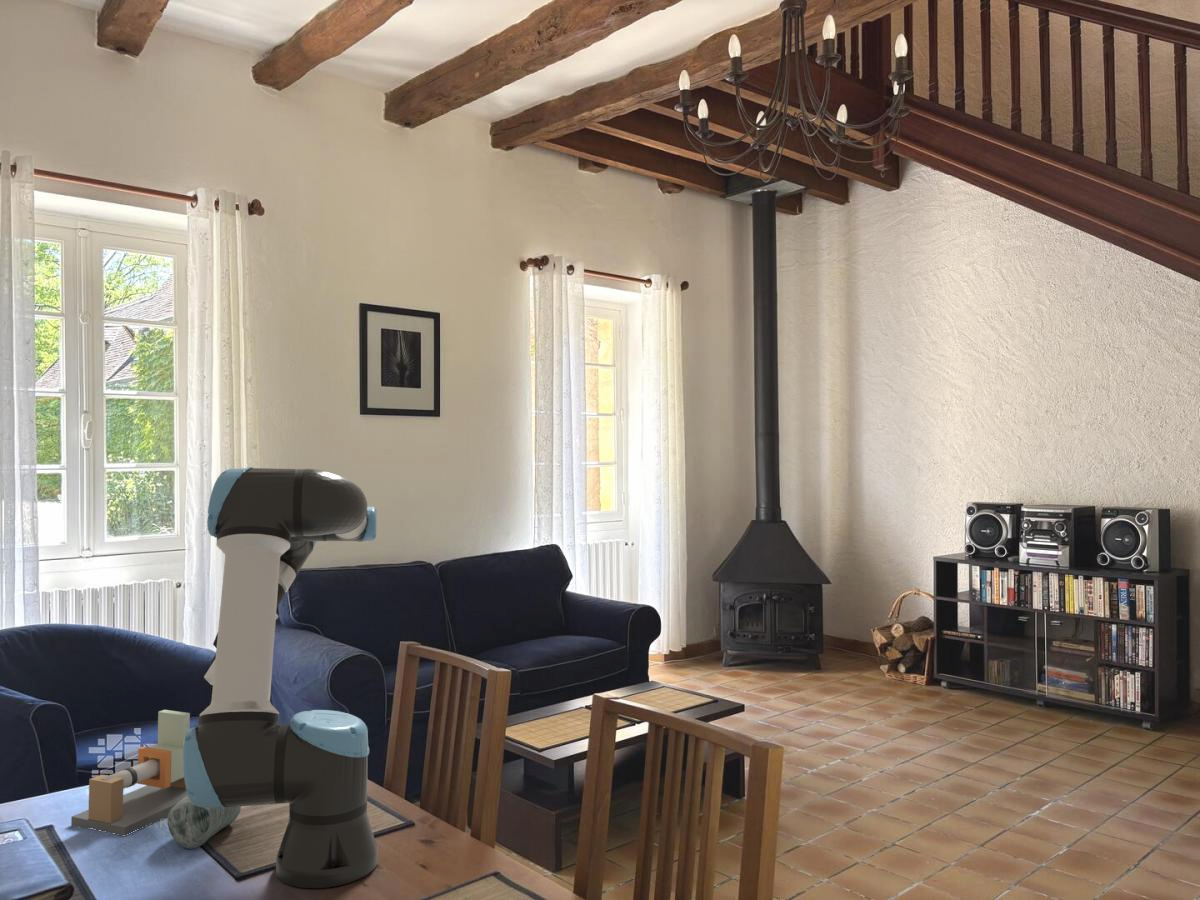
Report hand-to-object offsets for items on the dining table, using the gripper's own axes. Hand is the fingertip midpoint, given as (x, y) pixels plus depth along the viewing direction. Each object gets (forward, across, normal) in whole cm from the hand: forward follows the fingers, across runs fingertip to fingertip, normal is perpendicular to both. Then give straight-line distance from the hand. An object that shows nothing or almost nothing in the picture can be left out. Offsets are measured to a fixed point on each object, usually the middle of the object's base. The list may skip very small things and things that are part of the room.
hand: (210, 681), depth 175 cm
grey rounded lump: (+28, -18, +1) cm, 34 cm away
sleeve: (+18, 0, -3) cm, 19 cm away
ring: (+21, 0, -1) cm, 21 cm away
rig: (+25, 0, -3) cm, 25 cm away
